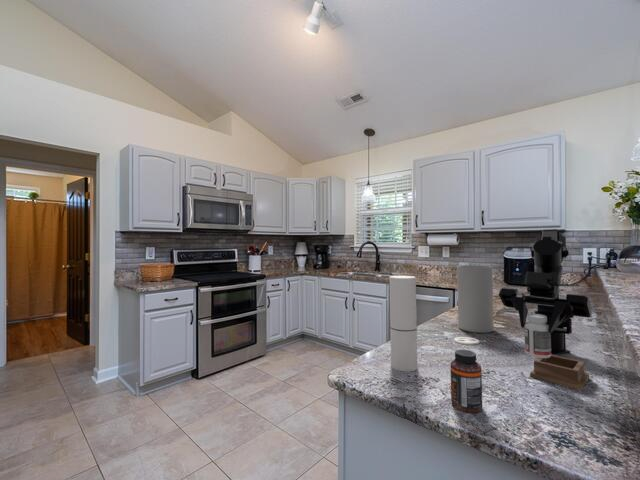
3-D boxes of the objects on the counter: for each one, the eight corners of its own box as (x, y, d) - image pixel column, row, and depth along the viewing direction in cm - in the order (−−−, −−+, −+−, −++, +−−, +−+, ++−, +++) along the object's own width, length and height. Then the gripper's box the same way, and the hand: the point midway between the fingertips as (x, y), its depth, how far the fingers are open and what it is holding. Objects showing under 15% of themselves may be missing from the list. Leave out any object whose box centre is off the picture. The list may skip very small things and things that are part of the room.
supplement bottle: (447, 398, 67) (446, 347, 67) (475, 399, 66) (474, 347, 67) (456, 413, 61) (455, 356, 61) (487, 415, 60) (486, 357, 61)
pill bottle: (555, 355, 75) (554, 315, 75) (545, 360, 72) (544, 319, 72) (530, 349, 80) (529, 311, 80) (520, 353, 77) (519, 315, 77)
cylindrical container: (417, 363, 87) (416, 275, 88) (417, 373, 81) (415, 278, 81) (392, 360, 90) (390, 275, 90) (389, 369, 83) (388, 277, 83)
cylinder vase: (451, 327, 124) (450, 266, 125) (472, 323, 130) (471, 264, 130) (478, 335, 113) (477, 268, 113) (500, 331, 118) (499, 266, 119)
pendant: (450, 339, 109) (450, 337, 109) (479, 338, 110) (479, 336, 110) (460, 346, 102) (460, 343, 102) (491, 344, 103) (491, 342, 103)
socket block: (541, 366, 84) (540, 351, 84) (589, 377, 76) (588, 361, 76) (530, 376, 77) (529, 361, 77) (581, 390, 70) (580, 373, 70)
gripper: (500, 258, 86) (485, 304, 78) (587, 261, 71) (579, 317, 64) (510, 283, 91) (497, 328, 84) (594, 290, 76) (587, 345, 69)
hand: (535, 329), depth 75 cm, fingers closed on pill bottle, 5 cm apart
